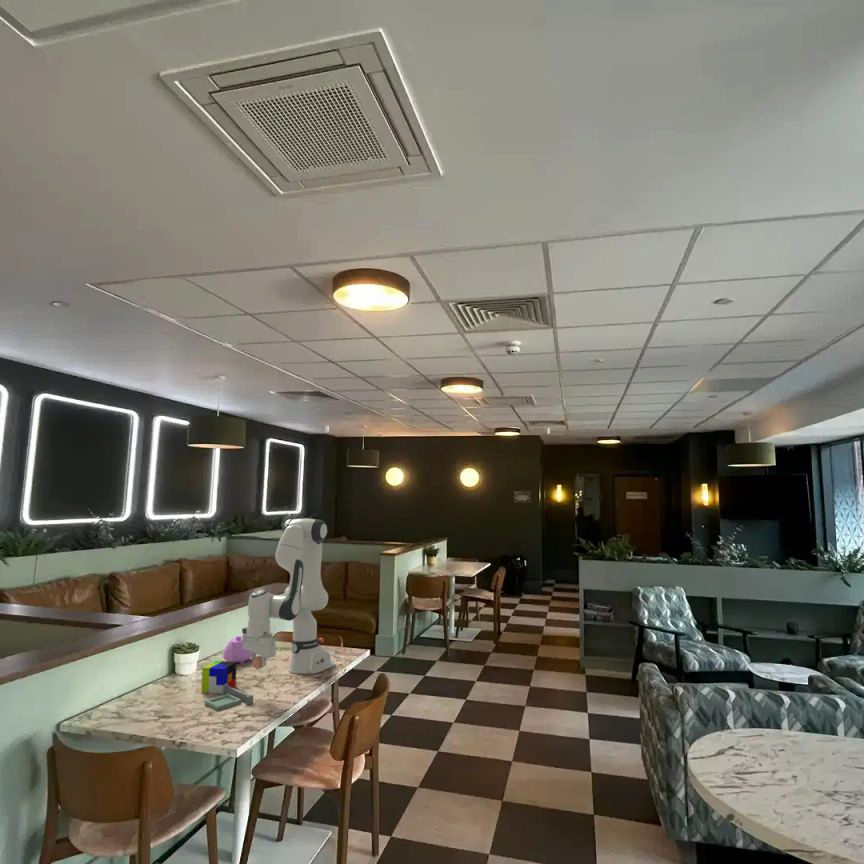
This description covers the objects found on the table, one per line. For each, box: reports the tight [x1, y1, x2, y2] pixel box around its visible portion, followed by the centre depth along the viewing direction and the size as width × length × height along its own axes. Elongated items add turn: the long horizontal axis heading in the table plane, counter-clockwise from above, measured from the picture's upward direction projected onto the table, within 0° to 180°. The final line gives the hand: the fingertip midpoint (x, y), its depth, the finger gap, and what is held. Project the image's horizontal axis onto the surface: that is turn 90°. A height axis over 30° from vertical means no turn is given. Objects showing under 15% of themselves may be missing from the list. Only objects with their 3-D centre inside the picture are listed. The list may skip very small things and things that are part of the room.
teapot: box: [222, 635, 252, 665], centre depth 281 cm, size 20×14×12 cm
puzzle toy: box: [201, 660, 238, 695], centre depth 242 cm, size 10×10×10 cm
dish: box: [204, 694, 242, 711], centre depth 223 cm, size 10×10×2 cm
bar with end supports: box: [223, 685, 254, 706], centre depth 229 cm, size 2×19×3 cm, turn 49°
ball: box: [252, 655, 264, 670], centre depth 235 cm, size 5×5×5 cm
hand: (259, 664), depth 235 cm, fingers closed on ball, 5 cm apart
